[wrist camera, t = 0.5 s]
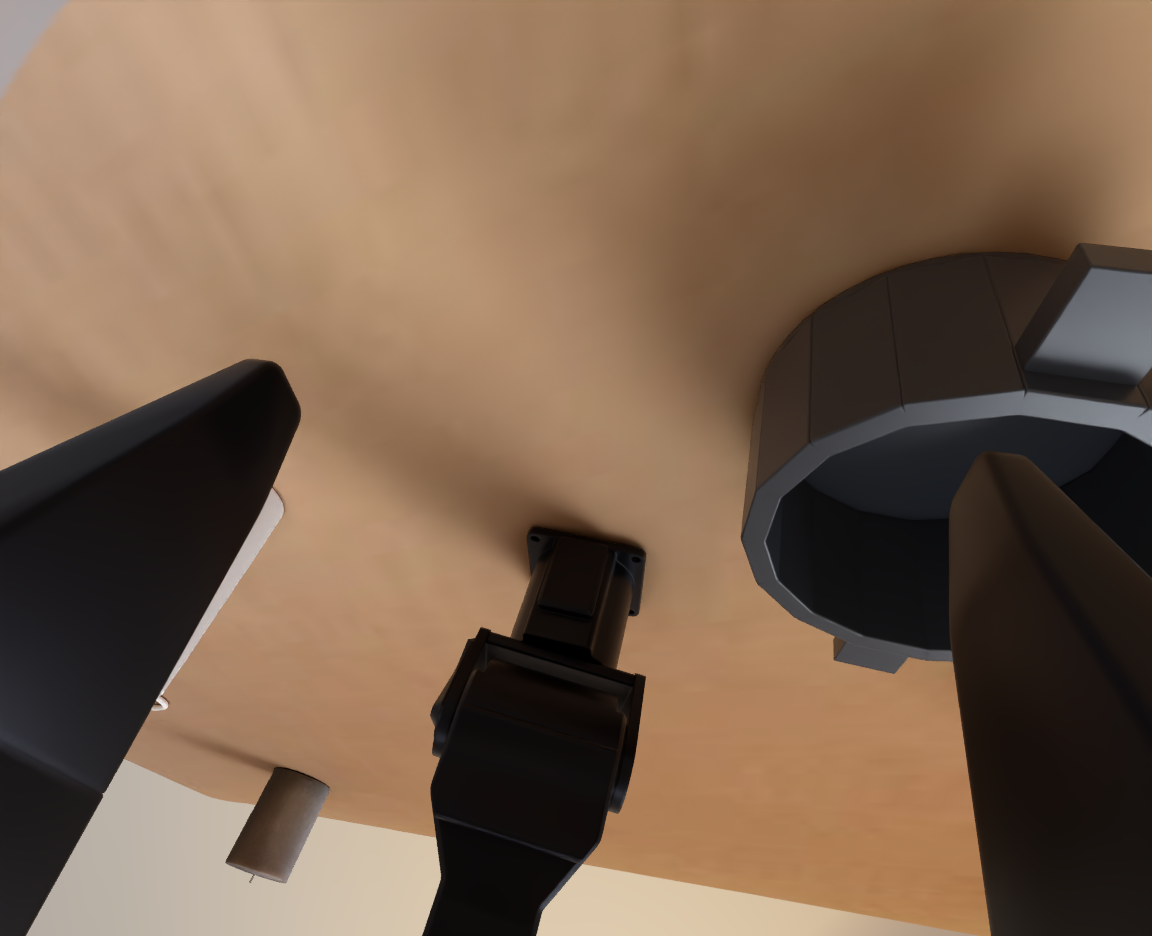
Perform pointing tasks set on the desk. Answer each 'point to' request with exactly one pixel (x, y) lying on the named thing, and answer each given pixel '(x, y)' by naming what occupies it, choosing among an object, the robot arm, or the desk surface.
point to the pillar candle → (278, 825)
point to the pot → (943, 431)
